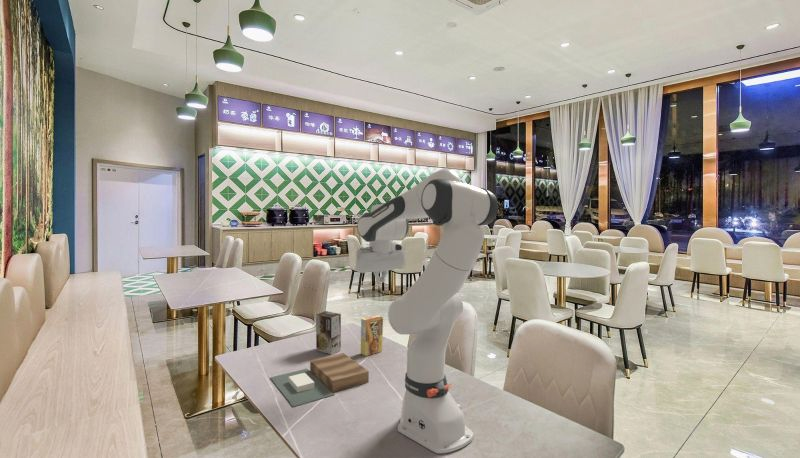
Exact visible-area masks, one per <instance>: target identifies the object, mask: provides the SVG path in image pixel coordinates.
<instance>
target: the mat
mask: <svg viewBox="0 0 800 458" xmlns="http://www.w3.org/2000/svg"><path fill="white" fill-rule="evenodd" d="M301 373H306V374H307V375H308V376H309V377H310V378H311V379H312V380H313V381H314V388H312V389H309V390H305V391H301V392H297V391H296V390H295V389H294V388H293V387H292V386H291V384H290V383H289V376H293V375H297V374H301ZM269 379H270V380H271V381H272V382H273V384H274V385H275V386H276V387H277V389H278V390H279V391H280V393H281V394H282V395H283V397H285V400H287V402H288V403H289V404H290V405H291V406H292V407H293V408H296V407H298V406H302V405H305V404H308V403H312V402H316V401H320V400H323V399H326V398H329V397H333V396H335V394H334V392H332V391H331V390H330V389H329V388H328V387H327V386H326V385H325V384H324V383H322V382H321V381H320V380H319V379H318V378H317V377H316V376H315V375H314V374H313V373H312V372H311V371H310V369H308V368H304V369H300V370H296V371H295V370H294V371H291V372H286V373H283V374H279V375H275V376H271V377H270V378H269Z"/></svg>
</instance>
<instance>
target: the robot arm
mask: <svg viewBox="0 0 800 458" xmlns="http://www.w3.org/2000/svg"><path fill="white" fill-rule="evenodd" d="M461 180H462V179H461V178H460V176H459V174H457V172H455V171H454V170H452V169H449V168H441V169H439V170H437V171H435V172H433V173H431V174H430V175H428V176H426V177H425V178H423V179H422V180H421V181H420V182H419V183H418V184H416V185H415V186H413V187H412V188H410V189H408V190H407V191H405V192H403V193H401V194H399V195H397V196H396V197H393V198H391V199H390V200H388V201H386V202H385V203H375V204H373V205H371V209H370V212H364V213H363V214H362V216H360V218H359V220H358V222H357V226H356V228H357V229H356V231H357V233H358V235H359V236H360V237H361V239H362V240H364V241H365V242H367V243H369V244H368V245H369V246H367V247H363V246H362V247H360V248H358V250H356V253H355V254H356V257H355V258H356V260H355V271H356V272H357V273H359V274H364V273H373V275H374V277H375V282H376V283H377V284H380V283H385V282H386V277H387V275H388V271H394V270H402V269H404V267H405V266H406V265H405V264H406V263H405V262H406V261H405V259H406V258H405V252H404V251H403V250H404V249H405V248H404V247H405V246H404V245H403V244H401V243H397V242H395V241H393V240H396V241H397V240H401V239H404V238H405V237H406V236H407V235H408V232H409V231H410V225H409V220H411V219H412V220H413V219H415V220H416V219H419V220H420V219H421V220H422V219H427V218H429V219H431V221H432V223H433V225H434V226H437V227H441V226H442V227H443V233H442V237H441V238H440V241H439V242H438V244H437V246H436V248H435V250H434V252H433V253H432V255H431V258H430V260H429V262H428V264H427V265H426V267H425V269H424V270H423V272H422V273H421V274H420V275H419V277H418V278H417V279H416V281H414V283H413V284H412V285H411V286H410V287H409V288H408V289H407V290H406V291H405V292H404V293H403V294H402V295H400V296H399V297H398V298H396V299H395V300H393V301H392V302H391V304H390V305H389V306H388V307H389V308H388V312H387V315H388V316H387V318H388V323H389V325H390V327H391V329H393V331H394V332H396V334H399V335H416V336H415V337H414V339H413V340H412V341H411V342H410V343H409V345H408V348H407V351H406V373H405V375H404V376H405V377H404V388H405V392H404V396H403V399H402V405H401V406H402V407H401V413H400V414H401V415H400V419H399V421H400V422H399V423H398V425H397V432H398V433H401V434H402V435H404V436H406V437H407V438H409V439H410V440H412V441H414V442H416V443H418V444H419V445H421V446H422V447H424V448H425V449H428V450H430V451H431V452H434V453H435V454H447V453H451V452H455V451H457V450H460V449H462V448H464V447H466V446H467V445H469V444H470V443H471V442H472V441H473V440H474V437H475V435H474V432H473V431H472V430H471V429H470V428H469V427H468V426H467V425H466V420H465V415H464V413H463V411H462V406H461V404H459V403H457V402H456V401H455V399H454V397H452V394H451V393H450V392H449V389H450V388H451V385H452V384H451V383H449V384H448V382H447V381H448V380H447V377H446V373H445V368H446V367H445V366H446V350H447V347H448V342H449V339H450V336H451V333H452V330H453V328H454V326H455V324H456V323H457V320H459V318H461V316H462V314H463V309H464V304H463V301H462V297H461V296H460V295H459V291H461V289H462V288H463V287H464V284H465V283H466V281H467V279H468V277H469V275H470V273H471V272H472V270H473V268H474V267H475V264H476V263H477V260H478V258H479V255H480V253H481V251H482V249H483V248H482V247H483V244H484V242H485V241H484V240H485V233H484V231H483V230H484V229H482V228H481V227H482V226H486V225H490V223H492V222H493V221H494V220H495V218H496V217H497V214H498V212H499V211H498V210H499V202H498V199H497V196H496V194H494V193H493V192H491V191H490V190H487V189H485V188H483V187H477V186H474V185H472V184H468V183H466V182H463V181H461ZM380 272H381V273H382V274H381V276H379V274H380Z"/></svg>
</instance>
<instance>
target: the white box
mask: <svg viewBox="0 0 800 458" xmlns="http://www.w3.org/2000/svg"><path fill="white" fill-rule="evenodd" d="M289 383H290V384H291V386H292V387H293V388H294V389H295V390H296V391H297V392H301V391H305V390H309V389H312V388H314V381H313V380H312V379H311V378H310V377H309V376H308V375H307V374H306V373H301V374H297V375H293V376H289Z"/></svg>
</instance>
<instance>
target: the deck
mask: <svg viewBox="0 0 800 458" xmlns="http://www.w3.org/2000/svg"><path fill="white" fill-rule="evenodd" d="M309 363H310V364H309V367H310V368H309V371H310V372H311V373H312V374H313V375H314V376H315V377H316V378H317V379H318V380H320V381H321V382H322V383H323V384H324V385H325V386H326V387H327V388H328V389H329V390H330V391H331V392H332V393H336V392H339V391H342V390H346V389H348V388H353V387H355V386H359V385H362V384H367V383H369V382H370V381H369V375H370V373H369V372H370V371H369V370H368V369H366V368H365V367H363V365H361V364H360V363H358V362H357V361H356V360H354V359H352V358H351V357H350V356H348V355H347V354H346V353H344V352H342V353H338V354H332V355H329V356H324V357H321V358H320V357H319V358H317V359H312V360H310V362H309Z"/></svg>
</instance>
